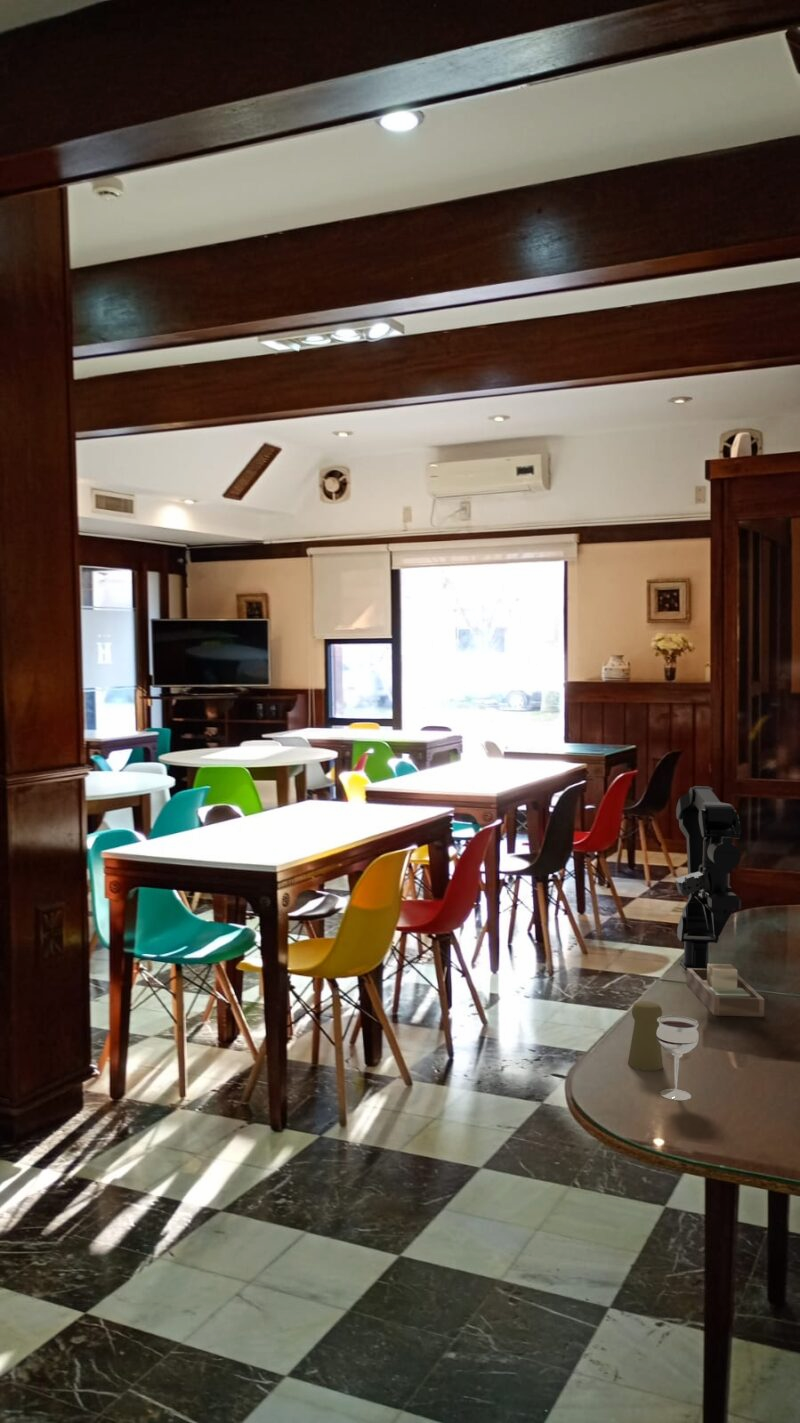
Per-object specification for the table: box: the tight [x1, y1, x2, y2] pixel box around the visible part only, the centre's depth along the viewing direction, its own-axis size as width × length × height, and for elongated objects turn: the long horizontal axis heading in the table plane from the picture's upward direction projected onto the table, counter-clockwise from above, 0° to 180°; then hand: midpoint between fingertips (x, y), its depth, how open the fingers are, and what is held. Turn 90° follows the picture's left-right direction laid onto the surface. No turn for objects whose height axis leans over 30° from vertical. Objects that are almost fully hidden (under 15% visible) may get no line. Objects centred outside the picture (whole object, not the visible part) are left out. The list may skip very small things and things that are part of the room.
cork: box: [627, 1000, 664, 1072], centre depth 202 cm, size 6×6×11 cm
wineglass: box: [656, 1015, 700, 1101], centre depth 188 cm, size 7×7×12 cm
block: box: [707, 963, 739, 989], centre depth 245 cm, size 5×5×4 cm
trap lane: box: [685, 968, 765, 1017], centre depth 243 cm, size 23×10×4 cm, turn 0°
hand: (713, 933), depth 252 cm, fingers open, 5 cm apart
